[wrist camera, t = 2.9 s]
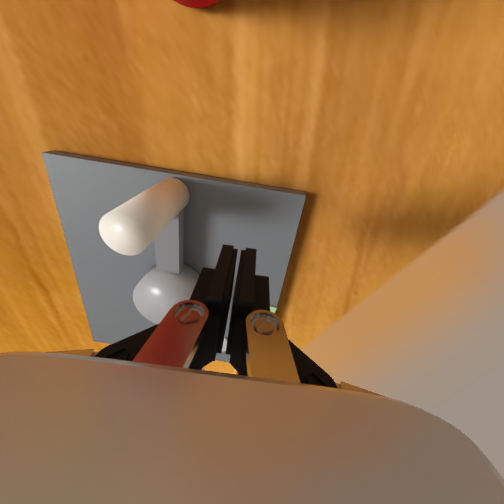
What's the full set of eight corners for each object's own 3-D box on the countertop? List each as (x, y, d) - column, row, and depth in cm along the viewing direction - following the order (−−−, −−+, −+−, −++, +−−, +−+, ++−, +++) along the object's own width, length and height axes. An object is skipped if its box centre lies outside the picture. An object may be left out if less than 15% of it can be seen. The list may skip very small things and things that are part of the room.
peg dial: (201, 358, 30) (180, 428, 23) (152, 350, 29) (118, 418, 23) (211, 183, 19) (178, 221, 12) (135, 171, 19) (61, 202, 12)
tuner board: (304, 191, 20) (306, 196, 19) (261, 358, 31) (261, 368, 30) (53, 150, 20) (39, 152, 19) (99, 333, 31) (92, 342, 30)
